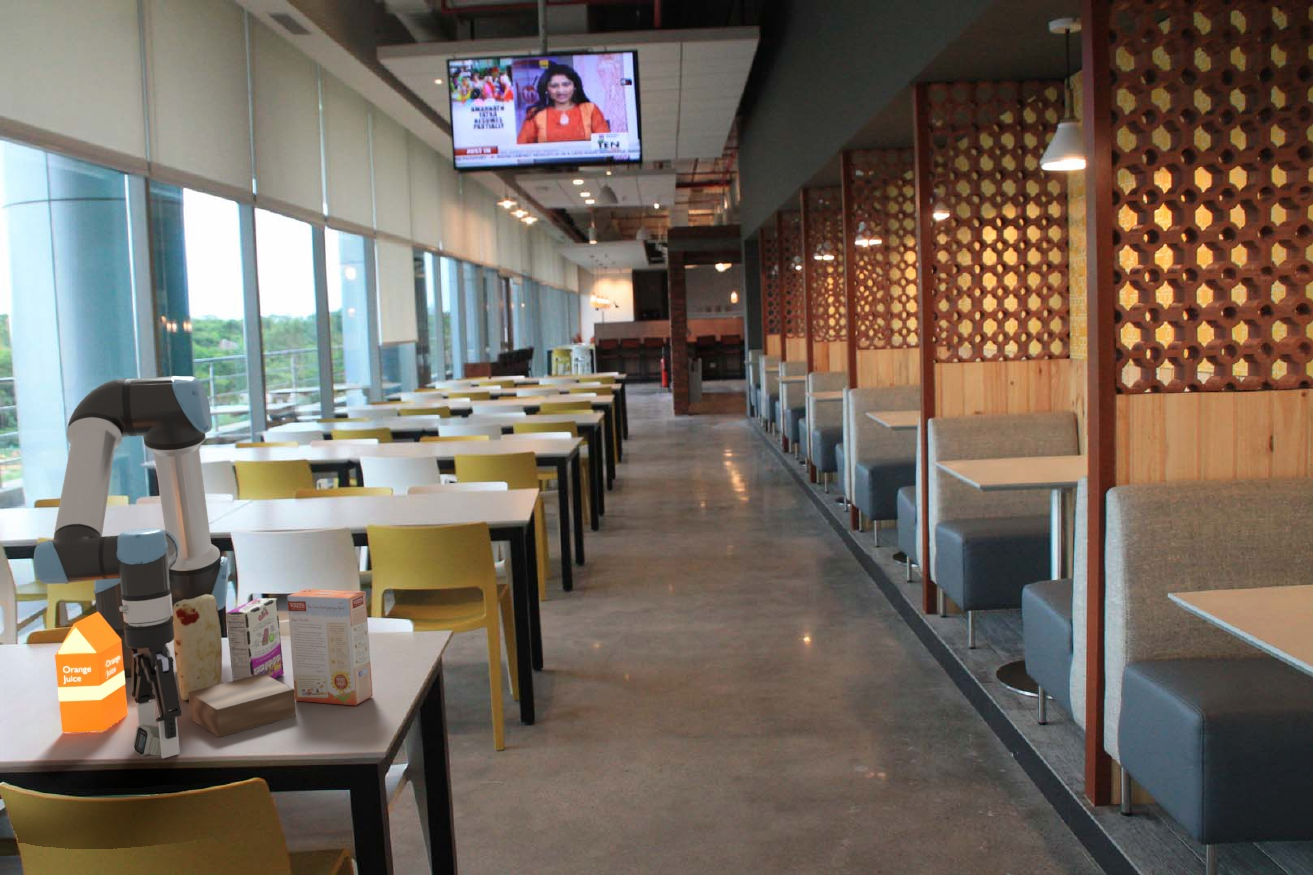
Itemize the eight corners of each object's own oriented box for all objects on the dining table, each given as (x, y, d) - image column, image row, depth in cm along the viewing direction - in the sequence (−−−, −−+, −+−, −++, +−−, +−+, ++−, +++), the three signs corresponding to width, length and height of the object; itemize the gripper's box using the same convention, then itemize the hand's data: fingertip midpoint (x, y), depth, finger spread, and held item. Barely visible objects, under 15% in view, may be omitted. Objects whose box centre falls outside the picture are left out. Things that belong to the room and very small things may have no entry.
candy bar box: (262, 674, 219) (256, 597, 218) (284, 675, 218) (278, 597, 217) (231, 692, 208) (224, 611, 207) (254, 693, 207) (247, 611, 206)
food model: (193, 705, 201) (184, 603, 199) (169, 702, 204) (160, 601, 202) (234, 689, 210) (225, 591, 208) (210, 686, 213) (201, 589, 211)
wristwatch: (126, 750, 180) (124, 722, 180) (163, 738, 185) (160, 711, 185) (152, 762, 175) (149, 733, 174) (189, 749, 179) (186, 721, 179)
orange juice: (61, 733, 189) (51, 625, 187) (87, 715, 198) (77, 612, 196) (104, 731, 189) (94, 623, 187) (129, 714, 198) (119, 610, 196)
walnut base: (190, 718, 194) (188, 692, 194) (264, 698, 204) (262, 673, 203) (219, 737, 184) (217, 709, 184) (296, 715, 194) (294, 688, 193)
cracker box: (374, 696, 203) (367, 590, 201) (355, 707, 197) (348, 597, 195) (313, 691, 207) (306, 587, 205) (293, 701, 202) (285, 594, 200)
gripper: (104, 614, 184) (114, 736, 186) (147, 637, 167) (159, 771, 169) (149, 605, 189) (159, 724, 191) (196, 627, 172) (206, 757, 174)
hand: (159, 747), depth 180 cm, fingers open, 10 cm apart
